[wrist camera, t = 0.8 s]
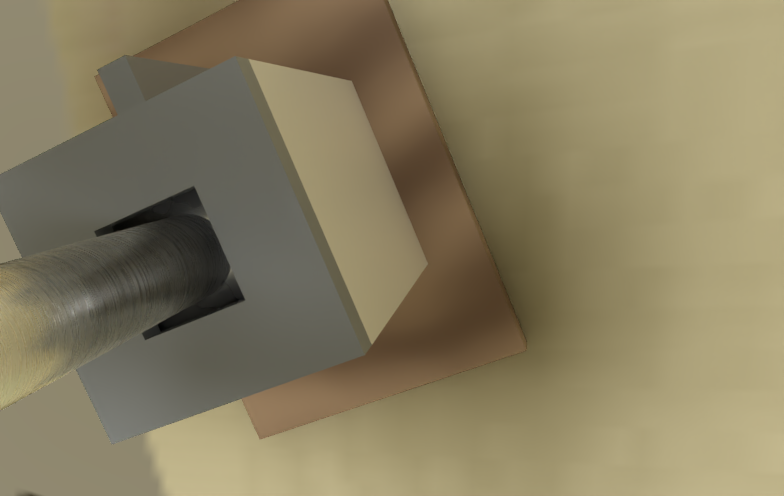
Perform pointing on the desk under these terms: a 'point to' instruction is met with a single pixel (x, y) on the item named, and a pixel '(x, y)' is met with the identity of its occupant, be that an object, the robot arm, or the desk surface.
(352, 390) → the board
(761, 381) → the desk surface
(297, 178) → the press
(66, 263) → the plunger
